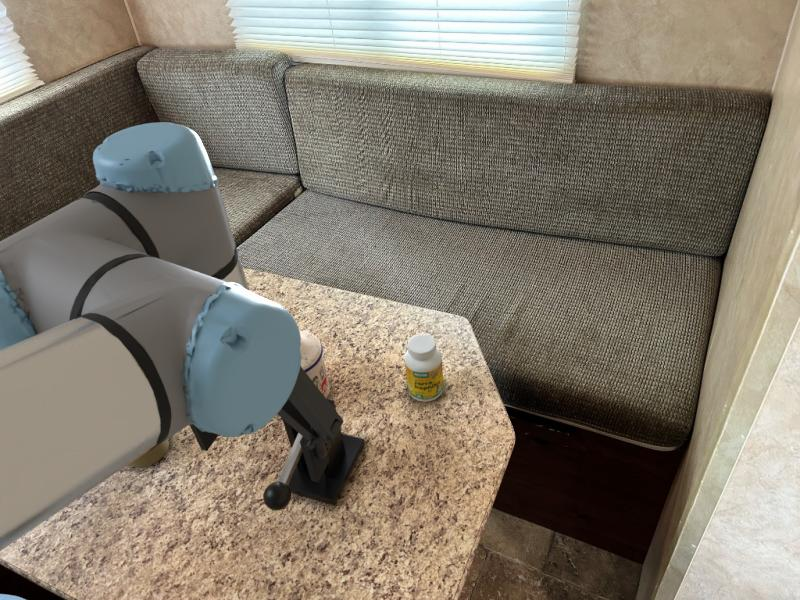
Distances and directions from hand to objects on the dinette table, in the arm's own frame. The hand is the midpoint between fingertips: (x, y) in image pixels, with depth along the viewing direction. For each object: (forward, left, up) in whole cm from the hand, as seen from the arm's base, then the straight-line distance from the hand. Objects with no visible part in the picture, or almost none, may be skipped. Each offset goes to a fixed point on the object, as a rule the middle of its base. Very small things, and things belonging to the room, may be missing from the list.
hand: (264, 455), depth 65 cm
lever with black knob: (+5, +2, -8) cm, 9 cm away
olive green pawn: (-5, +26, -15) cm, 30 cm away
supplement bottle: (+28, +2, -15) cm, 32 cm away
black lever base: (+9, +4, -15) cm, 18 cm away
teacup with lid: (+17, +17, -15) cm, 28 cm away
